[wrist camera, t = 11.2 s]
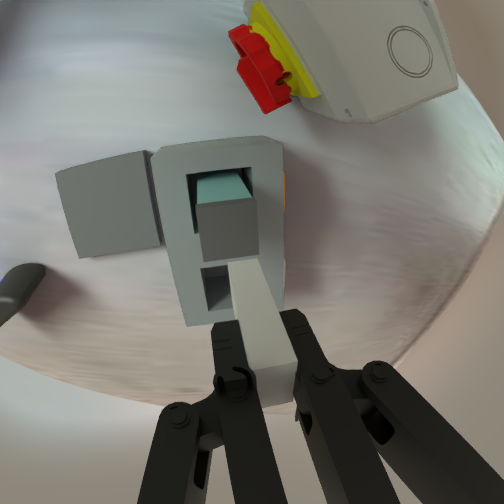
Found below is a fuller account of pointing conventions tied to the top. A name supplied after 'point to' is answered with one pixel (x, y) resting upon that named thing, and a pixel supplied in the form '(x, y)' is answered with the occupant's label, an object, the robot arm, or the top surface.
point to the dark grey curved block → (18, 288)
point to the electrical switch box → (344, 56)
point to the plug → (226, 216)
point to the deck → (109, 205)
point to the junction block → (186, 227)
